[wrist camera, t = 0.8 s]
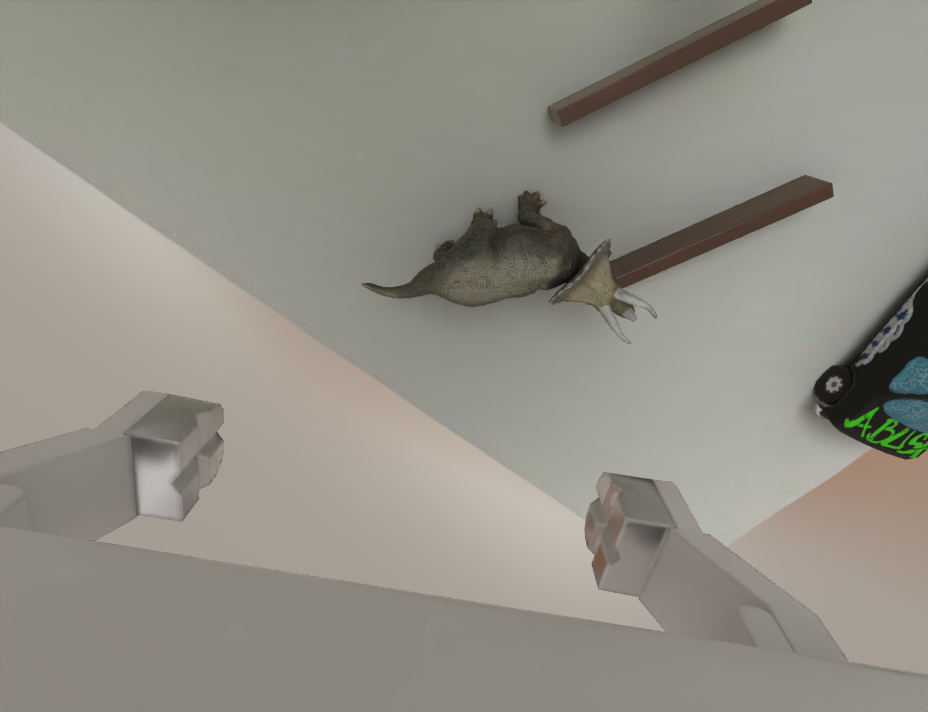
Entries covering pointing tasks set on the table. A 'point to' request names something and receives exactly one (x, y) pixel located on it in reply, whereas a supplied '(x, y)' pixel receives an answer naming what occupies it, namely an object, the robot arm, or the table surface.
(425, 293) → the toy dinosaur
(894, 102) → the table surface
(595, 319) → the table surface
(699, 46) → the walnut rails
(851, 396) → the toy van
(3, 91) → the table surface
